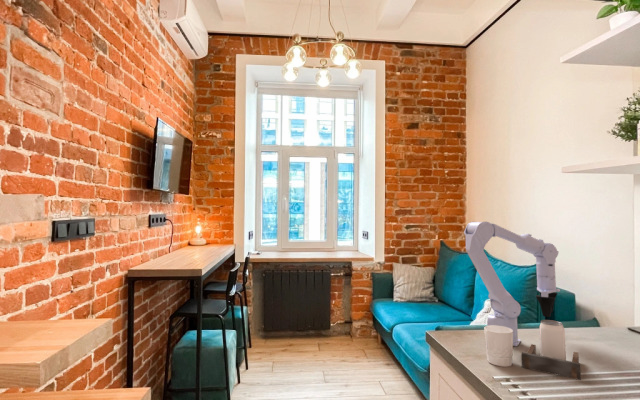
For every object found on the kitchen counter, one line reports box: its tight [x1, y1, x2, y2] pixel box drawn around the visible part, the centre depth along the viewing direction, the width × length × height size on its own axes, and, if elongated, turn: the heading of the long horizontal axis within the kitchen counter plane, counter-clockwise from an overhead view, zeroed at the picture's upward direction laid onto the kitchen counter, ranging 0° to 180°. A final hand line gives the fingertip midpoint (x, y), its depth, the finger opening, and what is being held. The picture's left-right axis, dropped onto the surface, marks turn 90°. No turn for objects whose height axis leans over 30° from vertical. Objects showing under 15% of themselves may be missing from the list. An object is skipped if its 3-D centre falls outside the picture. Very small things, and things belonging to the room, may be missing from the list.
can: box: [539, 319, 567, 361], centre depth 108 cm, size 6×6×12 cm
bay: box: [521, 343, 582, 381], centre depth 106 cm, size 14×14×4 cm
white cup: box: [483, 325, 514, 368], centre depth 109 cm, size 8×8×10 cm
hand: (547, 314), depth 128 cm, fingers open, 7 cm apart
